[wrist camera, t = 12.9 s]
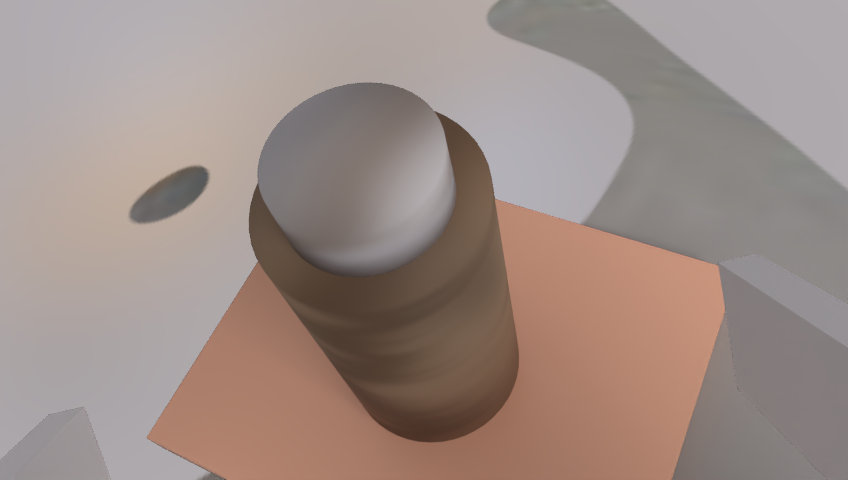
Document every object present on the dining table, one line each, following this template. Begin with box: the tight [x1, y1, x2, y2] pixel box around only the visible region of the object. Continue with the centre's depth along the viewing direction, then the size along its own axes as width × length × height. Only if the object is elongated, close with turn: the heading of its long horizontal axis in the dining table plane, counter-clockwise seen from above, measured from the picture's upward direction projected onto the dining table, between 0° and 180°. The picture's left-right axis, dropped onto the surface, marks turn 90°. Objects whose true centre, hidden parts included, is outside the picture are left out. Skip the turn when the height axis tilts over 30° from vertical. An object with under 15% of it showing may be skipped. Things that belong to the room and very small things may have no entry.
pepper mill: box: [249, 83, 519, 443], centre depth 25 cm, size 7×7×14 cm
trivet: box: [147, 199, 725, 480], centre depth 32 cm, size 20×16×2 cm
